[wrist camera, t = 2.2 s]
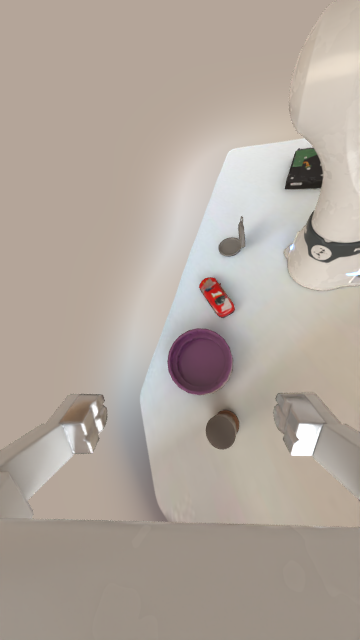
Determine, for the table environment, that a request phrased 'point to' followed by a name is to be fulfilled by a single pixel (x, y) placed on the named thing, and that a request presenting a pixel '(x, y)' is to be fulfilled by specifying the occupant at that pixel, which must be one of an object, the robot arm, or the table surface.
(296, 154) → the disk drive
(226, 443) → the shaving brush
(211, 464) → the table surface
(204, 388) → the bowl
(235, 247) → the pocket watch
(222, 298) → the race car
